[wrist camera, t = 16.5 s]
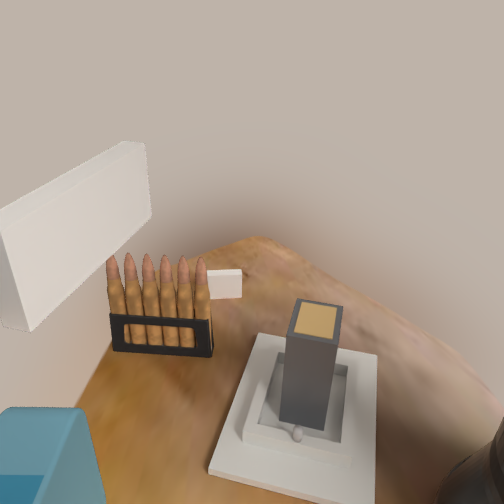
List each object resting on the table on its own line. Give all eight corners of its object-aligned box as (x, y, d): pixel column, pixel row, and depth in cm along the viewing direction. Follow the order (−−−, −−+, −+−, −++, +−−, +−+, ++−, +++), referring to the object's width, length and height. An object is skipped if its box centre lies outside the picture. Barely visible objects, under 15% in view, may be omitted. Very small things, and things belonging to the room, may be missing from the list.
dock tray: (375, 360, 47) (381, 335, 45) (372, 517, 33) (380, 490, 31) (258, 337, 50) (259, 313, 48) (208, 474, 36) (207, 446, 34)
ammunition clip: (213, 346, 49) (211, 252, 43) (211, 358, 47) (209, 262, 41) (118, 339, 49) (103, 246, 43) (113, 351, 47) (96, 256, 41)
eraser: (203, 294, 57) (202, 270, 55) (240, 292, 58) (241, 268, 56) (203, 299, 56) (202, 276, 54) (241, 298, 56) (242, 274, 55)
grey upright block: (329, 388, 43) (343, 305, 38) (323, 431, 38) (338, 344, 33) (289, 379, 43) (297, 297, 38) (278, 420, 39) (286, 334, 34)
